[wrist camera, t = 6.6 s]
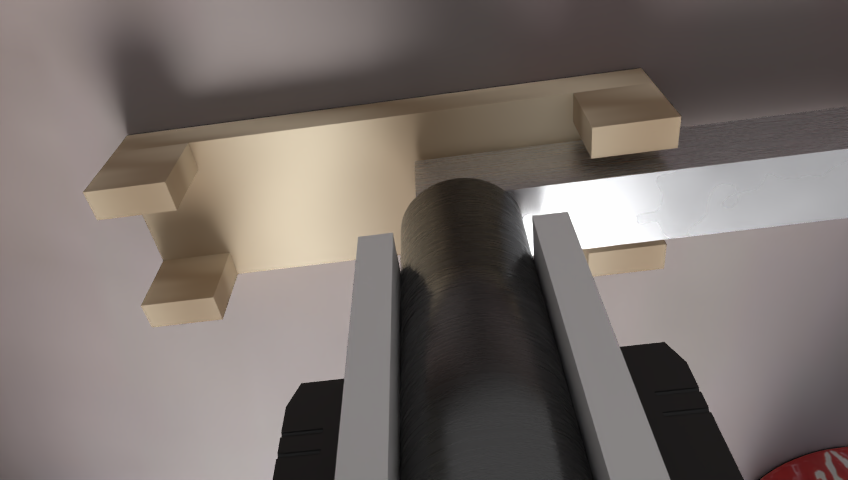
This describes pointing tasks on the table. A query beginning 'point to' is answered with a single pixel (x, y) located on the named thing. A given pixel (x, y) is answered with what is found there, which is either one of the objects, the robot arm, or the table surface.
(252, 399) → the table surface
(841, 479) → the mug
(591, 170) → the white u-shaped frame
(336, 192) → the strip
